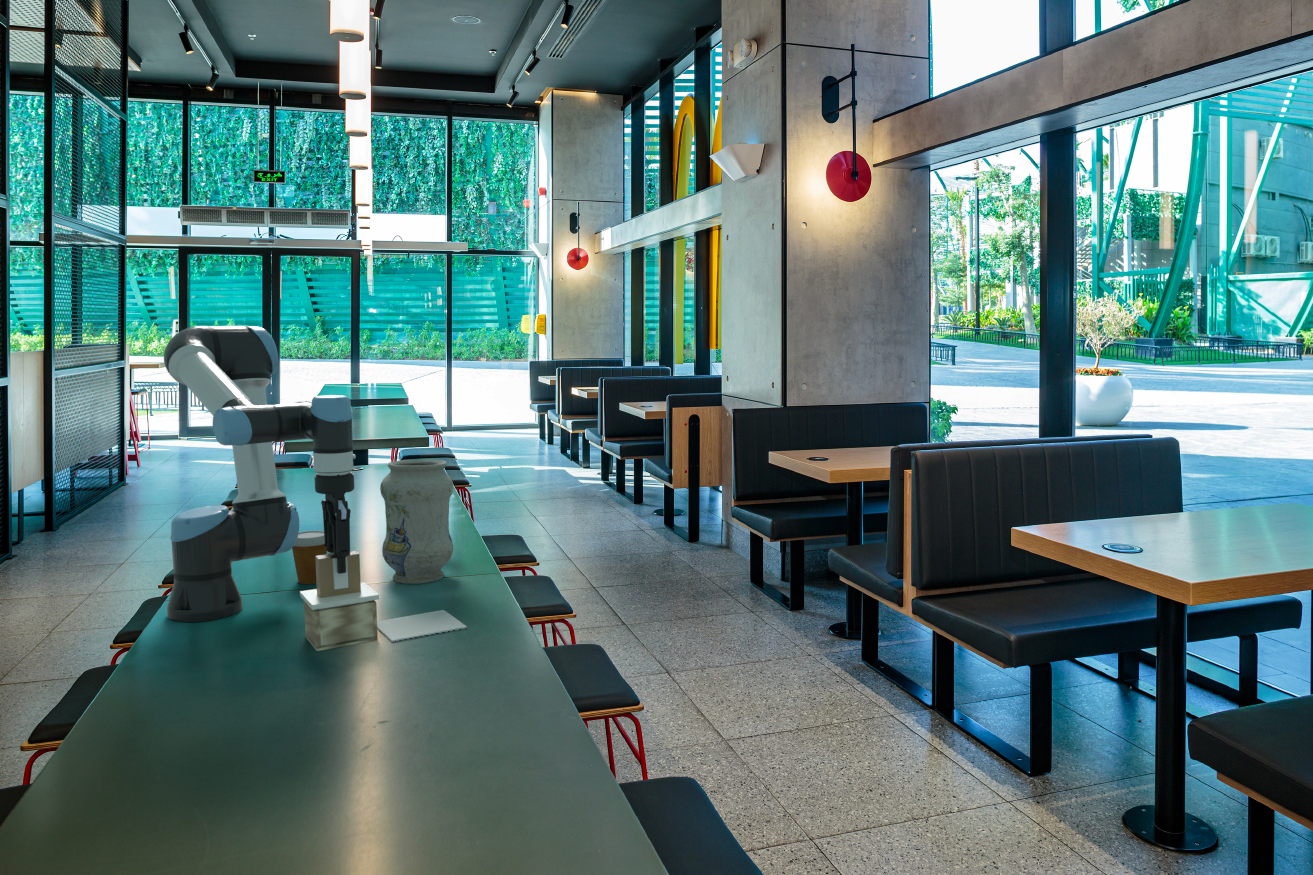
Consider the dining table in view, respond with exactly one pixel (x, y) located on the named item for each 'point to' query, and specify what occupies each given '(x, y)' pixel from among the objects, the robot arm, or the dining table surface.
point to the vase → (417, 520)
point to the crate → (341, 625)
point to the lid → (333, 597)
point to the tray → (419, 625)
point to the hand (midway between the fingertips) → (338, 585)
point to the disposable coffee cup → (308, 554)
